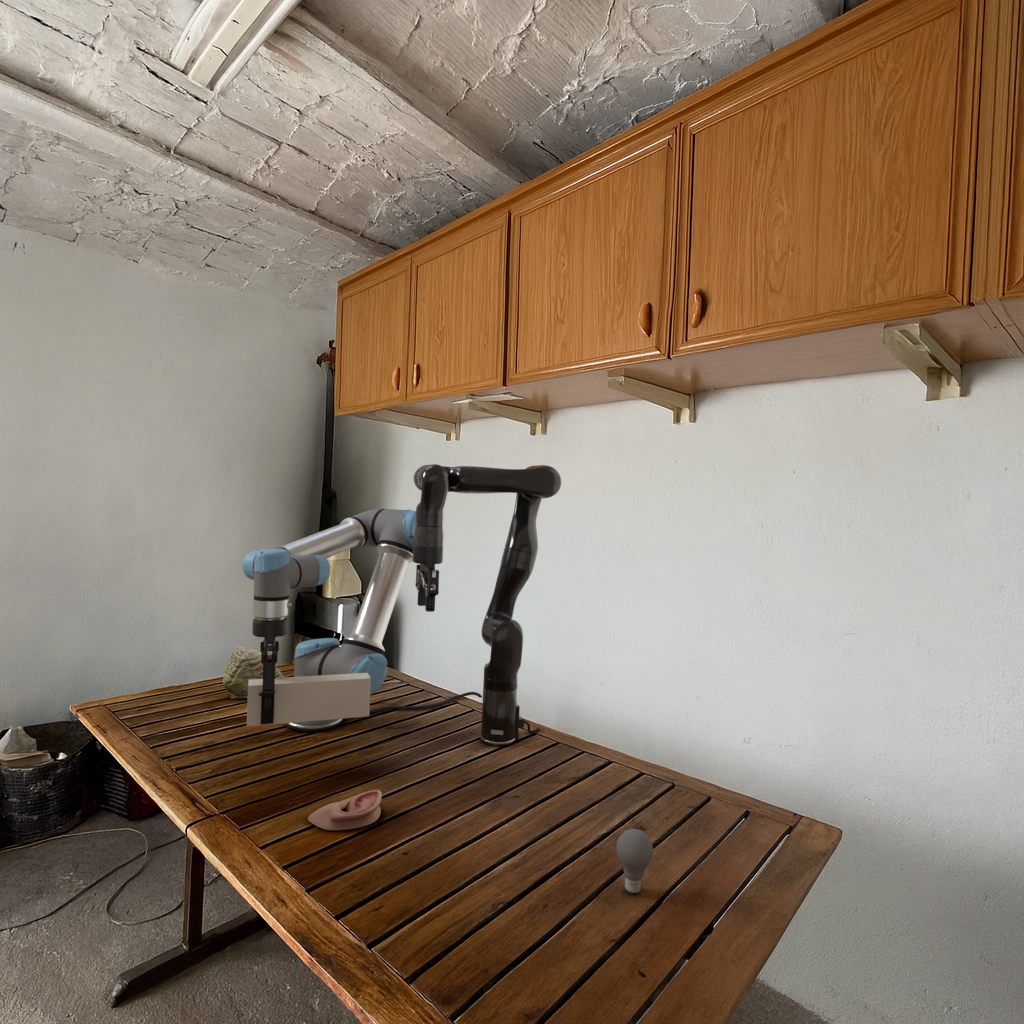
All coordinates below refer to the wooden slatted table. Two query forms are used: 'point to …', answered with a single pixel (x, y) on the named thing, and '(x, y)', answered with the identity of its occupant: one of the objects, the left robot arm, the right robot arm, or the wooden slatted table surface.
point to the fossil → (244, 671)
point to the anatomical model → (349, 812)
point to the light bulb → (634, 857)
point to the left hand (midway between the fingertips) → (266, 718)
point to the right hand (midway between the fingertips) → (425, 608)
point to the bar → (312, 698)
